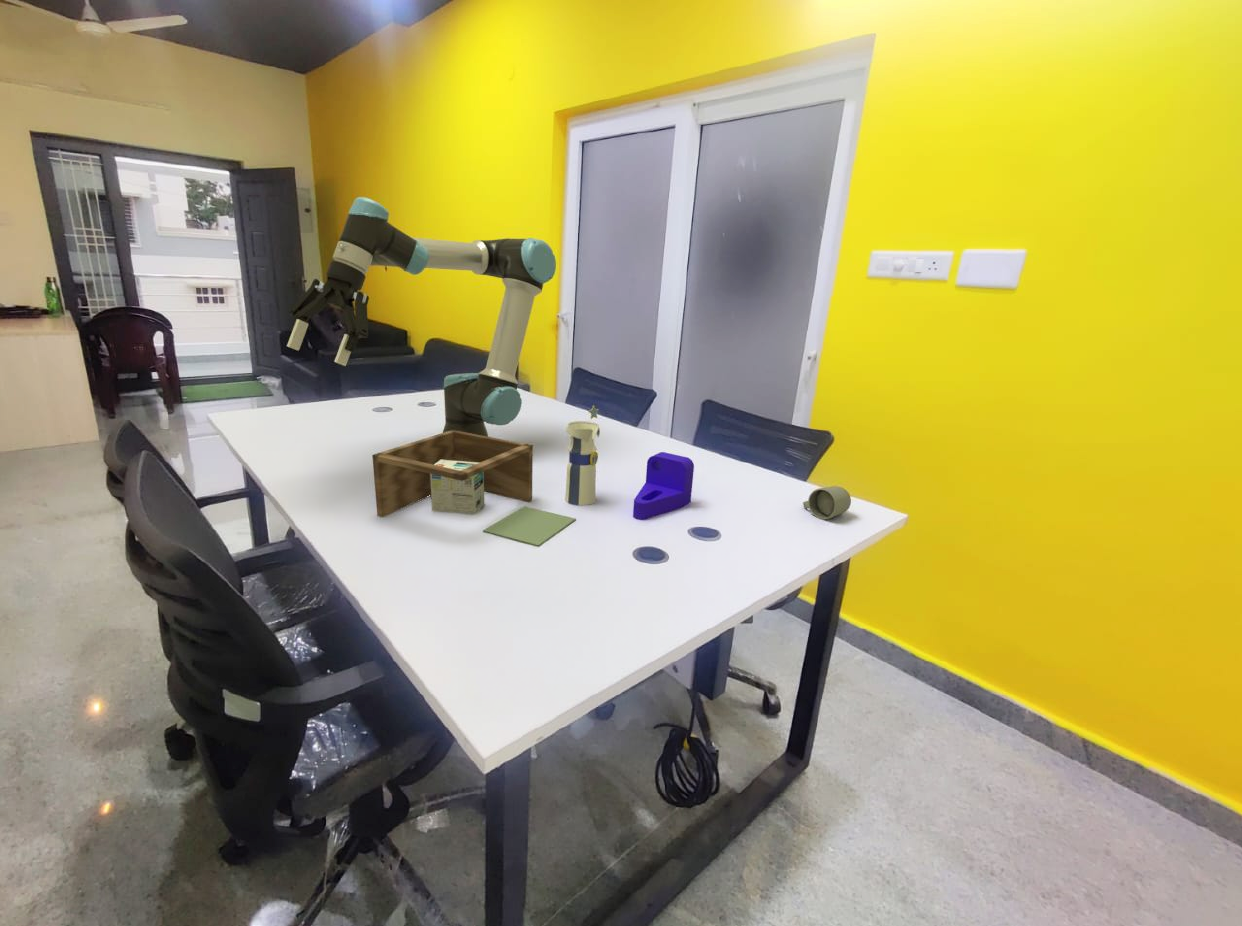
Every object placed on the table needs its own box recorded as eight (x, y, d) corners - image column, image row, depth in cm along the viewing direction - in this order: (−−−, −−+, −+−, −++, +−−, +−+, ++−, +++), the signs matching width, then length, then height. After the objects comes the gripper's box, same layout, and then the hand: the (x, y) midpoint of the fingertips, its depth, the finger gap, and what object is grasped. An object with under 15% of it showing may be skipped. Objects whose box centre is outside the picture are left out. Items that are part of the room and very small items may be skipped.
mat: (524, 507, 138) (524, 506, 138) (575, 520, 133) (575, 518, 133) (482, 532, 124) (482, 530, 124) (538, 547, 119) (538, 545, 119)
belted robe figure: (603, 497, 147) (608, 401, 140) (587, 508, 140) (591, 407, 132) (575, 491, 150) (578, 396, 143) (558, 501, 143) (560, 402, 135)
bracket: (653, 493, 153) (656, 450, 149) (690, 502, 147) (694, 459, 144) (617, 514, 138) (619, 467, 134) (657, 525, 133) (661, 477, 129)
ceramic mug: (850, 516, 144) (855, 487, 142) (832, 524, 139) (837, 494, 137) (813, 503, 152) (817, 476, 150) (795, 510, 147) (799, 481, 145)
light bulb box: (485, 504, 139) (484, 461, 135) (475, 515, 132) (474, 470, 129) (442, 500, 140) (440, 458, 136) (430, 511, 133) (428, 466, 130)
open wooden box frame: (454, 482, 152) (452, 429, 147) (532, 500, 143) (532, 445, 138) (377, 515, 129) (372, 454, 125) (463, 539, 120) (461, 475, 116)
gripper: (293, 247, 129) (260, 336, 128) (383, 271, 122) (348, 365, 121) (318, 263, 136) (287, 347, 135) (404, 286, 130) (371, 375, 129)
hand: (315, 356), depth 128 cm, fingers open, 13 cm apart
